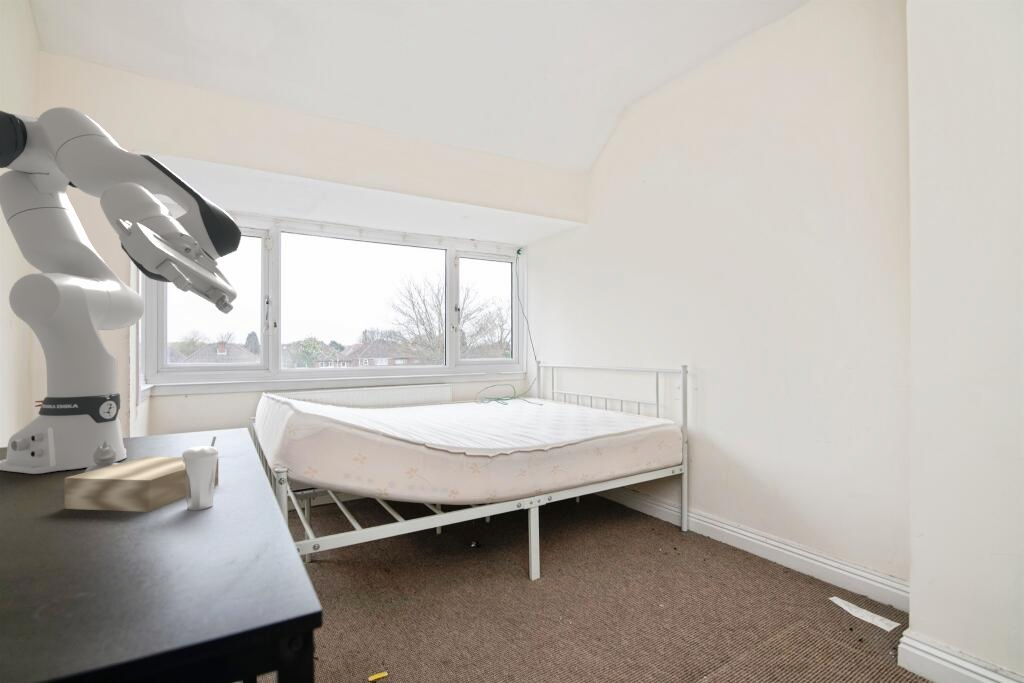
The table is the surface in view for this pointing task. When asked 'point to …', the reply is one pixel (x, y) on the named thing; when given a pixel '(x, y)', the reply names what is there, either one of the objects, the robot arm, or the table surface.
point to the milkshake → (200, 475)
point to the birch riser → (129, 485)
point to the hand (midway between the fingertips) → (208, 299)
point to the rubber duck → (103, 457)
